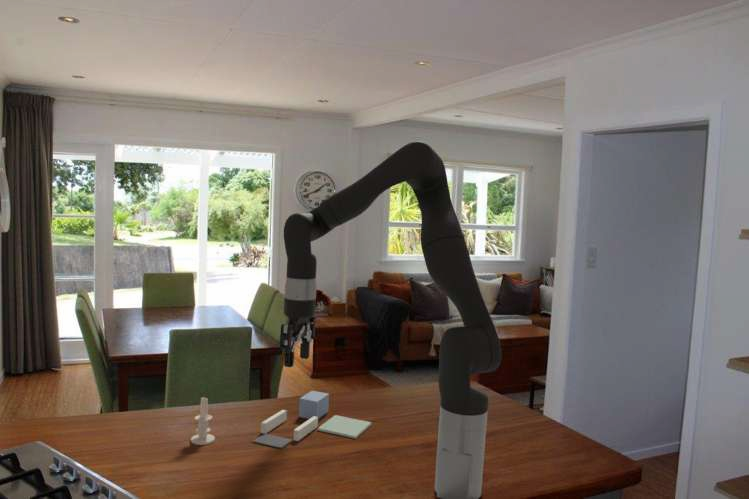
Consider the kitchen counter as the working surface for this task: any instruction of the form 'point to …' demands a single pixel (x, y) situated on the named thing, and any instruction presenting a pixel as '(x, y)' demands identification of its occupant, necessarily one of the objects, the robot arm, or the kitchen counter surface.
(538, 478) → the kitchen counter surface
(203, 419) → the white ringed tapered column
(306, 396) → the block
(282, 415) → the channel
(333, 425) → the tile
